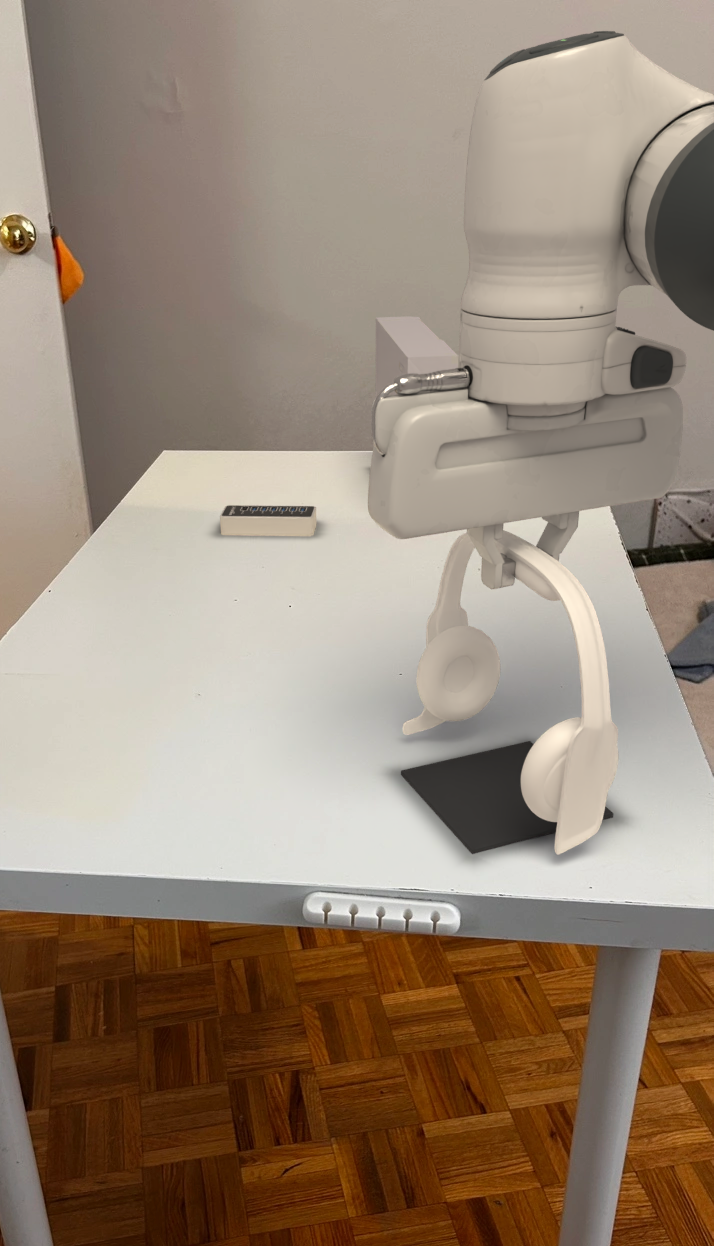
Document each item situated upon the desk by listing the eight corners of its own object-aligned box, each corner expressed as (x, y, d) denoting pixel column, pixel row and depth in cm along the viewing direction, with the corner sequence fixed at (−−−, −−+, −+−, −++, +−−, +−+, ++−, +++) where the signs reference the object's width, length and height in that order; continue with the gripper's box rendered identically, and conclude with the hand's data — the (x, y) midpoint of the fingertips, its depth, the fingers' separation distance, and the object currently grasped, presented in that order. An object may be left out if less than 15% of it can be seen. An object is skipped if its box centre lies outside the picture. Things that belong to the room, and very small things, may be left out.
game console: (416, 466, 153) (420, 315, 144) (454, 531, 129) (461, 355, 120) (375, 468, 153) (375, 317, 143) (404, 534, 129) (407, 357, 119)
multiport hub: (313, 536, 129) (312, 517, 128) (220, 535, 130) (219, 516, 129) (316, 524, 133) (316, 505, 132) (226, 523, 134) (225, 504, 133)
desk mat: (529, 745, 85) (530, 740, 85) (613, 817, 76) (613, 813, 76) (400, 774, 82) (400, 770, 82) (472, 854, 73) (472, 849, 73)
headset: (629, 845, 71) (664, 587, 63) (534, 871, 69) (556, 608, 61) (478, 712, 88) (490, 493, 79) (398, 730, 86) (400, 507, 77)
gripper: (396, 388, 59) (393, 626, 66) (711, 352, 65) (679, 573, 72) (349, 367, 64) (351, 590, 71) (645, 336, 70) (622, 543, 77)
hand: (519, 581), depth 71 cm, fingers closed on headset
